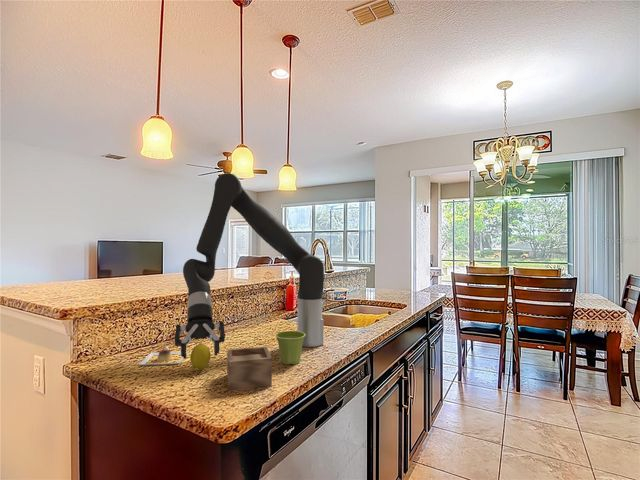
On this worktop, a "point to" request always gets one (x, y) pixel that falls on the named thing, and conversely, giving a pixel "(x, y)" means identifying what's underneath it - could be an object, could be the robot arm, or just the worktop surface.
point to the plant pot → (290, 346)
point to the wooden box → (249, 368)
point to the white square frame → (161, 357)
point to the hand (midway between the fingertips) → (200, 355)
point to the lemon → (200, 356)
